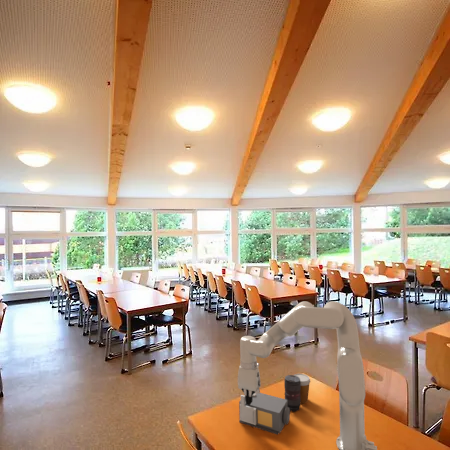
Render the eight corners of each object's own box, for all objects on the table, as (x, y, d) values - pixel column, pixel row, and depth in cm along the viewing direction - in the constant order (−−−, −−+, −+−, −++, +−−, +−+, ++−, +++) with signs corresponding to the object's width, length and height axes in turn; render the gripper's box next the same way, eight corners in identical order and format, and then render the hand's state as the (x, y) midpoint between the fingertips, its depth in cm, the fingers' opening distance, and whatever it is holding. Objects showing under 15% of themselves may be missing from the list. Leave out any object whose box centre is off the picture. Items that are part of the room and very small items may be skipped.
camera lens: (301, 413, 151) (300, 382, 151) (284, 411, 152) (284, 381, 152) (300, 404, 159) (300, 375, 159) (284, 402, 160) (284, 373, 160)
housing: (291, 419, 146) (290, 399, 146) (282, 436, 134) (281, 413, 134) (249, 407, 156) (249, 388, 156) (238, 422, 145) (238, 401, 145)
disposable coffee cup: (288, 397, 165) (288, 375, 165) (302, 393, 169) (302, 371, 169) (300, 407, 156) (299, 383, 156) (314, 402, 160) (314, 379, 160)
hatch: (256, 423, 141) (256, 398, 141) (255, 425, 140) (254, 400, 140) (240, 419, 145) (240, 394, 145) (239, 420, 144) (239, 395, 144)
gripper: (266, 363, 142) (266, 403, 142) (237, 357, 149) (238, 395, 149) (260, 370, 136) (260, 412, 135) (230, 363, 143) (231, 403, 143)
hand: (249, 403), depth 142 cm, fingers closed
